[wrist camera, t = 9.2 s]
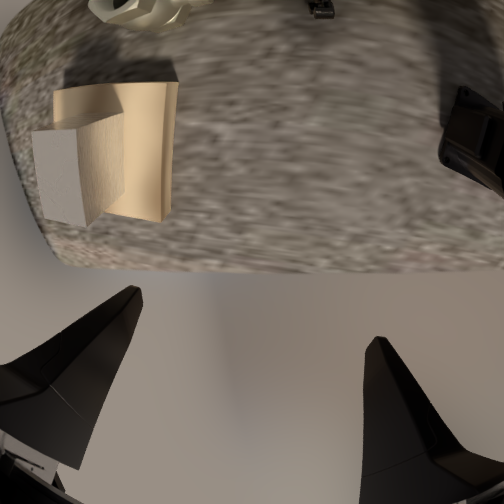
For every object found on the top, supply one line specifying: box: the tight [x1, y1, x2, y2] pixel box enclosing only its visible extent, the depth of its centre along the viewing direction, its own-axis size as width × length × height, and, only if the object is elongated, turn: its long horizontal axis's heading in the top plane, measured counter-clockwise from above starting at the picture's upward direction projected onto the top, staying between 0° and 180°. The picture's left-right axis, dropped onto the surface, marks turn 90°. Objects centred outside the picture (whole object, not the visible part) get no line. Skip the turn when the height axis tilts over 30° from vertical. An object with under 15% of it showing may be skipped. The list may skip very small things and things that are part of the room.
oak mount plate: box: [54, 82, 179, 223], centre depth 18 cm, size 10×10×2 cm
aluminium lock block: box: [32, 112, 125, 228], centre depth 15 cm, size 4×6×5 cm, turn 171°
